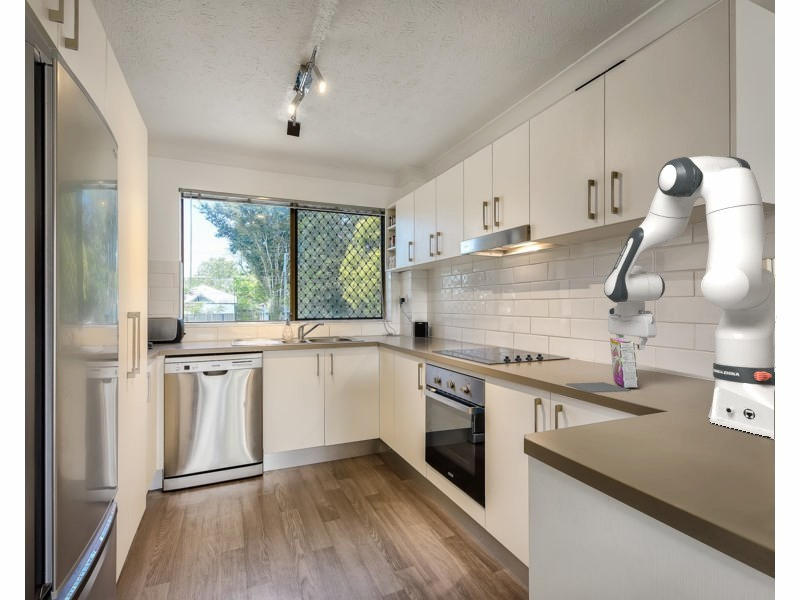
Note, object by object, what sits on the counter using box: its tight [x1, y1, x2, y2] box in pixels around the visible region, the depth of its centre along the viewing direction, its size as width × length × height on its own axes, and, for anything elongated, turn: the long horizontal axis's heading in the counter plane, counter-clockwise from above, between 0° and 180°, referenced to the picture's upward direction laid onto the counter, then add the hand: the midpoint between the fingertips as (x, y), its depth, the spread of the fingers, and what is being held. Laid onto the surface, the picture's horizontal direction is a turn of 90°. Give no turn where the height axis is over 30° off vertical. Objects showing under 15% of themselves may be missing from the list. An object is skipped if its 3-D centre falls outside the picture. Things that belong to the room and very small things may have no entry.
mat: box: [565, 381, 631, 393], centre depth 141 cm, size 14×16×1 cm
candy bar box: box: [609, 337, 639, 389], centre depth 142 cm, size 11×5×16 cm, turn 168°
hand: (631, 348), depth 144 cm, fingers open, 8 cm apart
